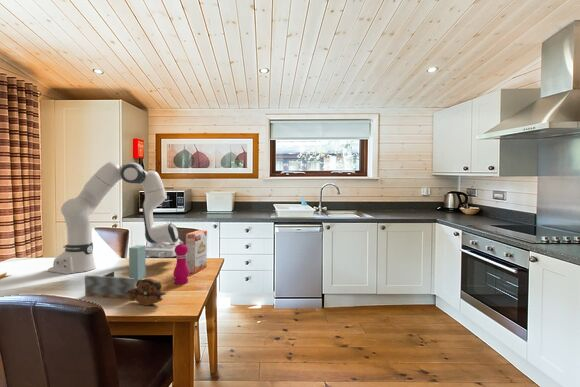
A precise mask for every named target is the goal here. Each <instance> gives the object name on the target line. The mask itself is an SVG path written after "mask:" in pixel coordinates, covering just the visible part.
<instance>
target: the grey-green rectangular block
mask: <svg viewBox="0 0 580 387" xmlns="http://www.w3.org/2000/svg"><path fill="white" fill-rule="evenodd" d="M145 247H146V245H143V244H142V245H141V244H140V245H139V244H137V245H133V246H130V247H128V263H129V264H128V267H129V268H128V272H129V273H128V275H129V277H128V278H135V281H138V280H140V279H142V280H144V278H145V279H146V277H147V274H146V266H147V265H146V256H145Z"/></svg>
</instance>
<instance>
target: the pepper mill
mask: <svg viewBox="0 0 580 387" xmlns="http://www.w3.org/2000/svg"><path fill="white" fill-rule="evenodd" d="M187 251H188V248H187V246H186V244H184V242H183V241H182V240H180V242H179V245H177V246H176V247H175V253H176V254H177V255H176V256H175V259H176V264H175V267H174V269H173V277H174V278H175V279H174V284H175V285H185V284H188V283H189V278H188V277H189V276H190V273H189V269H188V267H187V264H186V257H187V256H186V255H187V254H186V253H187Z"/></svg>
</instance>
